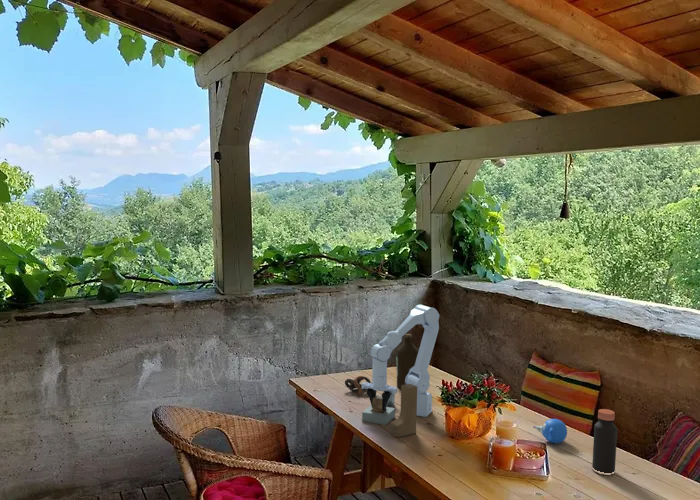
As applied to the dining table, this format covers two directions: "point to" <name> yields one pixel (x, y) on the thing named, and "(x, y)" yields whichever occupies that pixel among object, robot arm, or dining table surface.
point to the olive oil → (405, 359)
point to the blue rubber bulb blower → (553, 430)
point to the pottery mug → (357, 384)
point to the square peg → (378, 404)
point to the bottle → (605, 442)
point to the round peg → (391, 400)
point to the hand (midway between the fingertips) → (378, 408)
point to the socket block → (378, 416)
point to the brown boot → (406, 412)
